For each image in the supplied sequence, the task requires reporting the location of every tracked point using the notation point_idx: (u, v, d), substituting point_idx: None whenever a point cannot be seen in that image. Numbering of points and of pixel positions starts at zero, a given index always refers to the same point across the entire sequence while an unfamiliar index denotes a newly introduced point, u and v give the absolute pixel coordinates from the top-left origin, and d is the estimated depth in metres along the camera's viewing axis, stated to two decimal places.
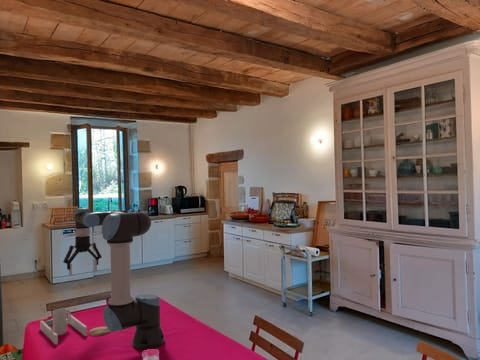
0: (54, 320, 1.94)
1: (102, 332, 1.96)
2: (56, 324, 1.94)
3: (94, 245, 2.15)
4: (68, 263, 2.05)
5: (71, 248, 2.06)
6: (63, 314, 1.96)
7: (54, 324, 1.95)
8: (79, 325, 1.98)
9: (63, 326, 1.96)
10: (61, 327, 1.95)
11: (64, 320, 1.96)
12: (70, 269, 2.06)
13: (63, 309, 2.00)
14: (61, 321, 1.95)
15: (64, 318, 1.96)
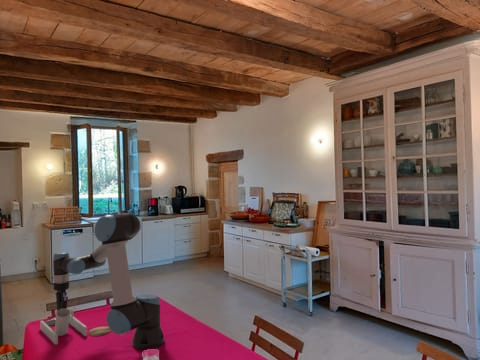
0: (57, 322, 1.91)
1: (102, 332, 1.96)
2: (58, 326, 1.92)
3: (62, 299, 1.95)
4: None
5: (56, 295, 2.03)
6: (67, 318, 1.92)
7: (56, 325, 1.92)
8: (79, 325, 1.98)
9: (65, 328, 1.94)
10: (63, 329, 1.93)
11: (67, 323, 1.93)
12: None
13: (67, 310, 1.96)
14: (64, 324, 1.92)
15: (67, 321, 1.93)
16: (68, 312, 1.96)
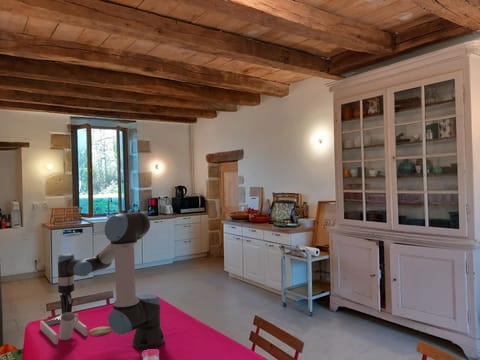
0: (61, 326, 1.86)
1: (102, 332, 1.96)
2: (63, 330, 1.86)
3: (67, 302, 1.89)
4: None
5: (60, 297, 1.97)
6: (71, 322, 1.86)
7: (61, 329, 1.86)
8: (79, 325, 1.98)
9: (69, 332, 1.88)
10: (67, 333, 1.87)
11: (71, 327, 1.88)
12: None
13: (72, 314, 1.90)
14: (69, 329, 1.87)
15: (72, 325, 1.87)
16: (73, 316, 1.90)
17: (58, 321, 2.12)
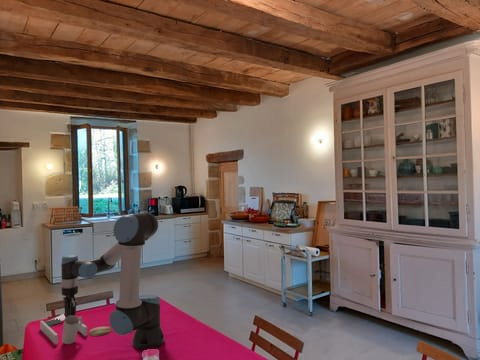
0: (65, 330, 1.81)
1: (102, 332, 1.96)
2: (66, 334, 1.82)
3: (70, 305, 1.85)
4: None
5: (64, 300, 1.93)
6: (75, 326, 1.82)
7: (64, 333, 1.82)
8: None
9: (73, 336, 1.84)
10: (71, 337, 1.83)
11: (75, 331, 1.83)
12: None
13: (76, 317, 1.86)
14: (72, 332, 1.82)
15: (75, 329, 1.83)
16: (77, 319, 1.86)
17: (58, 321, 2.12)
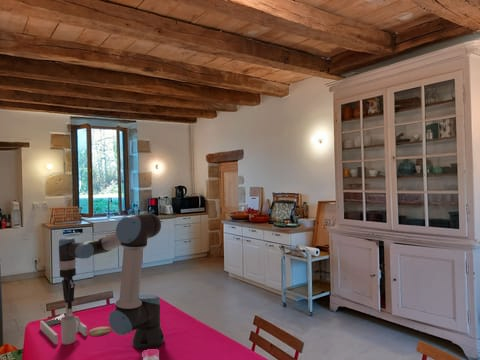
0: (63, 328, 1.83)
1: (102, 332, 1.96)
2: (65, 332, 1.83)
3: (69, 286, 1.87)
4: (65, 301, 1.92)
5: (62, 283, 1.94)
6: (72, 322, 1.85)
7: (62, 332, 1.84)
8: None
9: (72, 335, 1.85)
10: (70, 336, 1.84)
11: (73, 328, 1.85)
12: None
13: (72, 316, 1.89)
14: (70, 330, 1.84)
15: (73, 326, 1.85)
16: (73, 318, 1.89)
17: (58, 321, 2.12)
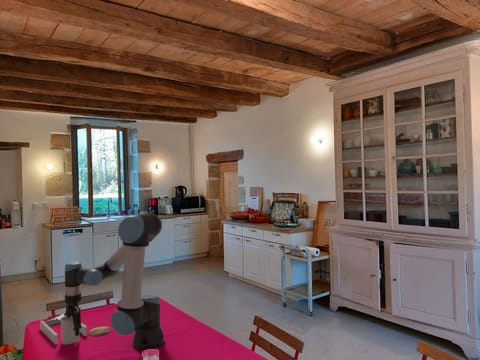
0: (62, 328, 1.83)
1: (102, 332, 1.96)
2: (64, 333, 1.83)
3: (74, 311, 1.81)
4: None
5: (66, 304, 1.90)
6: (72, 322, 1.84)
7: (62, 333, 1.83)
8: None
9: (72, 335, 1.85)
10: (70, 336, 1.84)
11: None
12: None
13: None
14: (70, 330, 1.84)
15: (73, 326, 1.85)
16: None
17: (58, 321, 2.12)
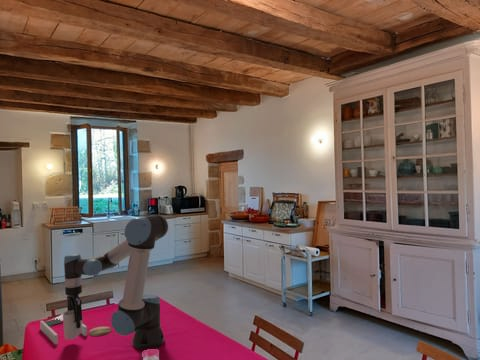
0: (65, 323, 1.81)
1: (102, 332, 1.96)
2: (67, 327, 1.81)
3: (75, 303, 1.80)
4: None
5: (67, 299, 1.89)
6: None
7: (65, 327, 1.81)
8: None
9: None
10: (72, 330, 1.82)
11: None
12: None
13: None
14: (73, 324, 1.82)
15: None
16: None
17: (58, 321, 2.12)
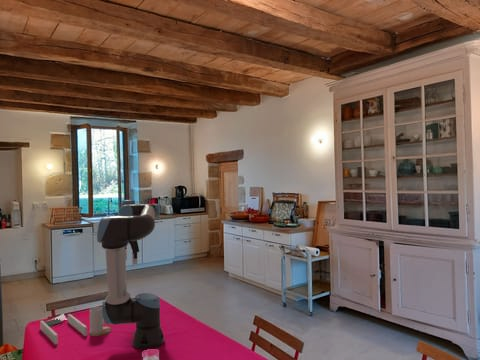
0: (91, 318, 1.94)
1: (102, 332, 1.96)
2: (93, 322, 1.94)
3: None
4: None
5: None
6: (100, 313, 1.95)
7: (91, 322, 1.94)
8: (79, 325, 1.98)
9: (100, 325, 1.95)
10: (98, 326, 1.95)
11: (101, 319, 1.96)
12: None
13: (99, 308, 2.00)
14: (98, 320, 1.95)
15: (101, 316, 1.96)
16: (101, 309, 2.00)
17: (58, 321, 2.12)
